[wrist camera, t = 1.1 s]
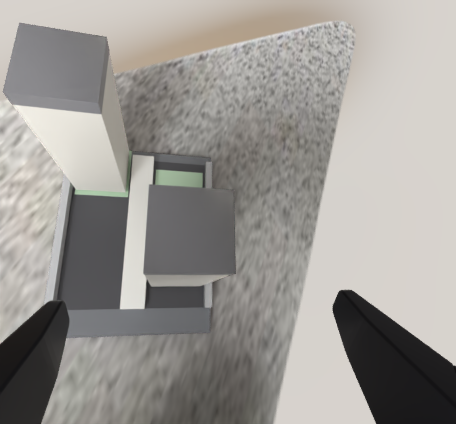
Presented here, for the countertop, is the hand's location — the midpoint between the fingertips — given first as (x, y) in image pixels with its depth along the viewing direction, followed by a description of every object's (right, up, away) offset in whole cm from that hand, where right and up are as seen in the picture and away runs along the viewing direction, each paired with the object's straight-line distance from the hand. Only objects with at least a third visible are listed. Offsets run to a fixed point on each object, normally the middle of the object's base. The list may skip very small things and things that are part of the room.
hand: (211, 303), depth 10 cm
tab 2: (-3, -1, +12) cm, 13 cm away
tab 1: (-9, +6, +13) cm, 17 cm away
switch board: (-6, +1, +13) cm, 15 cm away
